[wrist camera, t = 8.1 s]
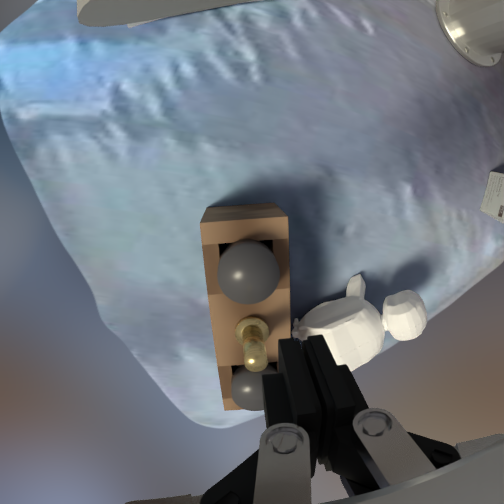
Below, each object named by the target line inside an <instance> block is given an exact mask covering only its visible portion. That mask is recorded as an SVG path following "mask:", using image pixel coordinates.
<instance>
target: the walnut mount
mask: <svg viewBox="0 0 504 504" xmlns="http://www.w3.org/2000/svg"><path fill="white" fill-rule="evenodd" d="M200 229H201V239H202V249H203V258H204V267H205V276H206V284H207V292H208V300H209V308H210V316H211V323H212V331H213V338H214V345H215V352H216V359H217V366H218V372H219V379H220V385H221V392H222V398H223V404H224V410H240V409H243V408H241V407H239V406H238V405H237V404H236V403H235V402H234V401H233V399H232V394H231V378H232V375H233V373H234V372H235V371H236V369H238V367H237V365H244V353H243V345H241V344H240V343H239V342H238V341H237V339H236V337H235V327H236V324H237V323H238V322H239V321H240V320H241V319H242V318H244V317H247V316H258V317H261V318H262V319H264V320H265V321H266V323H267V325H268V328H269V337H268V339H267V340H266V342H265V349H266V354H267V359H268V362H269V363H270V365H271V366H273V367H274V368H275V369H276V370H277V372H278V373H279V365H278V339H285V338H290V269H289V233H288V216H287V215H286V214H285V213H284V212H283V211H282V210H281V209H280V208H279V207H278V206H277V205H276V204H275V203H261V204H247V205H233V206H220V207H208V208H206V211H205V213H204V215H203V217H202V219H201V222H200ZM243 239H253V240H257V241H260V240H264V244H265V245H266V246H267V247H268V248H269V249H270V250H271V251H272V253H273V254H274V257H275V259H276V261H277V263H278V266H279V270H280V279H279V283H278V286H277V288H276V289H275V291H274V292H273V293H272V295H270V296H269V297H268V298H267V299H265V300H263V301H261V302H259V303H255V304H241V303H237V302H235V301H232V300H231V299H229V298H228V297H227V296H226V295H225V294H224V293H223V292H222V290H221V289H220V286H219V284H218V279H217V272H218V262H219V259H220V256H221V254H222V252H223V244H222V243H233V242H236V241H239V240H243Z"/></svg>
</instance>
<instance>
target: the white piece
mask: <svg viewBox="0 0 504 504" xmlns="http://www.w3.org/2000/svg"><path fill="white" fill-rule="evenodd" d="M365 287H366V286H365V282H364V280H363V278H362V276H361V274H358V275H355V276H353V277H351V279H350V280H349V283H348V285H347V291H346V297H345V298H341V299H337V300H334V301H330V302H324V303H321V304H320V305H318V306H316V307H315V308H313V309H311V310H310V311H309V312H308V313H307V314H305V315H304V317H303V318H302V319H301V321H300V322H299V321H298V319H297V318H296V319H295V320H294V322H293V326H294V329H293V330H292V332H291V333H292V335H293V337H294V338H299V339H300V340H301V341H303V340H307V337H308V336H312V335H320V334H322V335H323V336H324V338H325V341H326V343H327V345H328V347H329V349H330V351H331V353H332V355H333V358H334V360H335V362H336V364H337V365H343V364H346V365H347V366H348V367H349V369H350V371H353V370H354V369H356V368H357V367H359V366H361V365H362V364H364V363H367V362H368V361H370V360H371V359H372V358H373V357H374V356H375V355H376V354H377V353H379V352H380V350H381V349H382V346H383V342H384V337H385V331H387V330H389V332H390V333H391V334H392V336H393V337H394V338H395V339H396V340H410V339H414V338H416V337H418V336H419V335H420V334H421V333H422V331H423V329H424V328H425V326H426V323H427V312H426V308H425V305H424V302H423V300H422V298H421V297H420V296H419V295H418V294H417V293H415V292H413V291H411V290H404V291H400V292H398V293H396V294H394V295H389V296H387V297H385V300H384V303H383V314H382V315H380V313H379V312H378V310H377V309H376V308H375V307H374V306H373V305H372V304H370V303H369V302H368V301H366V300H364V295H365Z"/></svg>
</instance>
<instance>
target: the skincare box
mask: <svg viewBox="0 0 504 504" xmlns="http://www.w3.org/2000/svg"><path fill="white" fill-rule="evenodd" d="M480 210H481V211H482V212H484V213H485V214H487V215H489V216H491V217H492V218H494V219H496V220H498V221H499V222H501V223H503V224H504V174H503V173H498V172H492V171H491V172H490V175H489V179H488V184H487V187H486V191H485V195H484V198H483V201H482V204H481V207H480Z"/></svg>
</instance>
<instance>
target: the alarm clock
mask: <svg viewBox="0 0 504 504" xmlns="http://www.w3.org/2000/svg"><path fill="white" fill-rule="evenodd" d="M254 1H263V0H77V17H78V20H79V23H80V24H83V25H86V26H89V27H106V26H115V25H124V24H127V26H128V27H129V28H131V27H134V26H138V25H141V24H144V23H148V22H151V21H155V20H158V19H162V18H166V17H171V16H176V15H181V14H186V13H191V12H197V11H202V10H207V9H212V8H217V7H222V6H228V5H233V4H238V3H245V2H254Z"/></svg>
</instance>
